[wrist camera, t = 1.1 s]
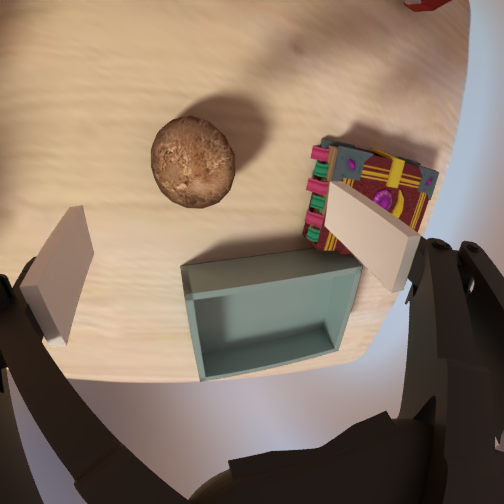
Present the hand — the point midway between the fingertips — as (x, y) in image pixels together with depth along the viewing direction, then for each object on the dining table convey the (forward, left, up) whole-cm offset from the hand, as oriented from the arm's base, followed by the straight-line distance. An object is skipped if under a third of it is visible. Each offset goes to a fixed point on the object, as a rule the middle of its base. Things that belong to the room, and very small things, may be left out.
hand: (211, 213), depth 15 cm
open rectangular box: (+8, -19, -14) cm, 25 cm away
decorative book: (+19, -5, -14) cm, 24 cm away
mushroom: (0, 0, -14) cm, 14 cm away
